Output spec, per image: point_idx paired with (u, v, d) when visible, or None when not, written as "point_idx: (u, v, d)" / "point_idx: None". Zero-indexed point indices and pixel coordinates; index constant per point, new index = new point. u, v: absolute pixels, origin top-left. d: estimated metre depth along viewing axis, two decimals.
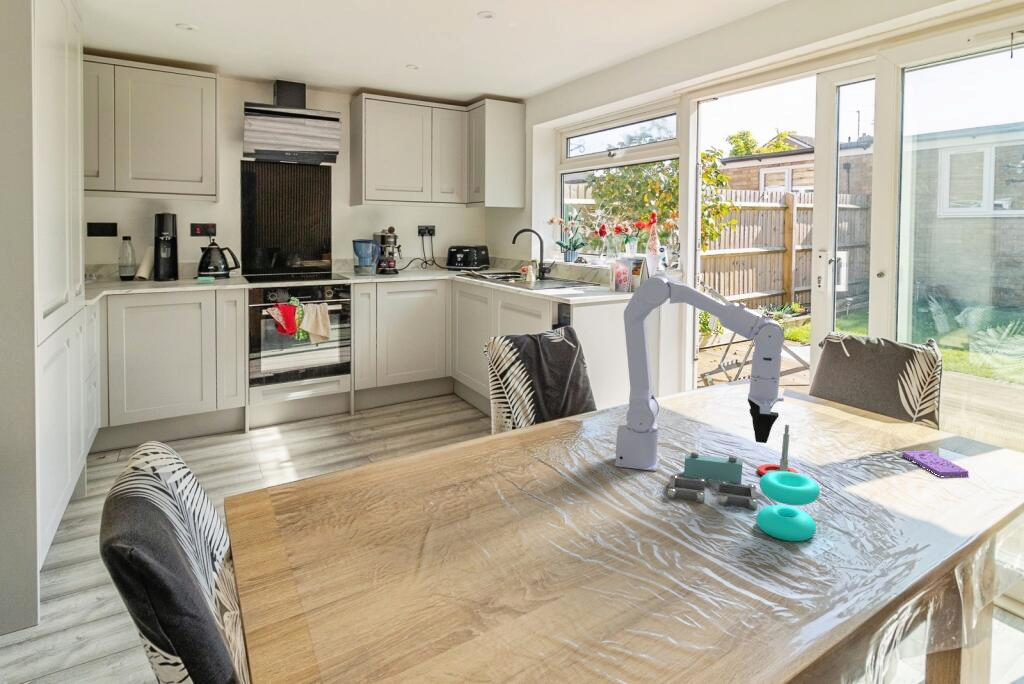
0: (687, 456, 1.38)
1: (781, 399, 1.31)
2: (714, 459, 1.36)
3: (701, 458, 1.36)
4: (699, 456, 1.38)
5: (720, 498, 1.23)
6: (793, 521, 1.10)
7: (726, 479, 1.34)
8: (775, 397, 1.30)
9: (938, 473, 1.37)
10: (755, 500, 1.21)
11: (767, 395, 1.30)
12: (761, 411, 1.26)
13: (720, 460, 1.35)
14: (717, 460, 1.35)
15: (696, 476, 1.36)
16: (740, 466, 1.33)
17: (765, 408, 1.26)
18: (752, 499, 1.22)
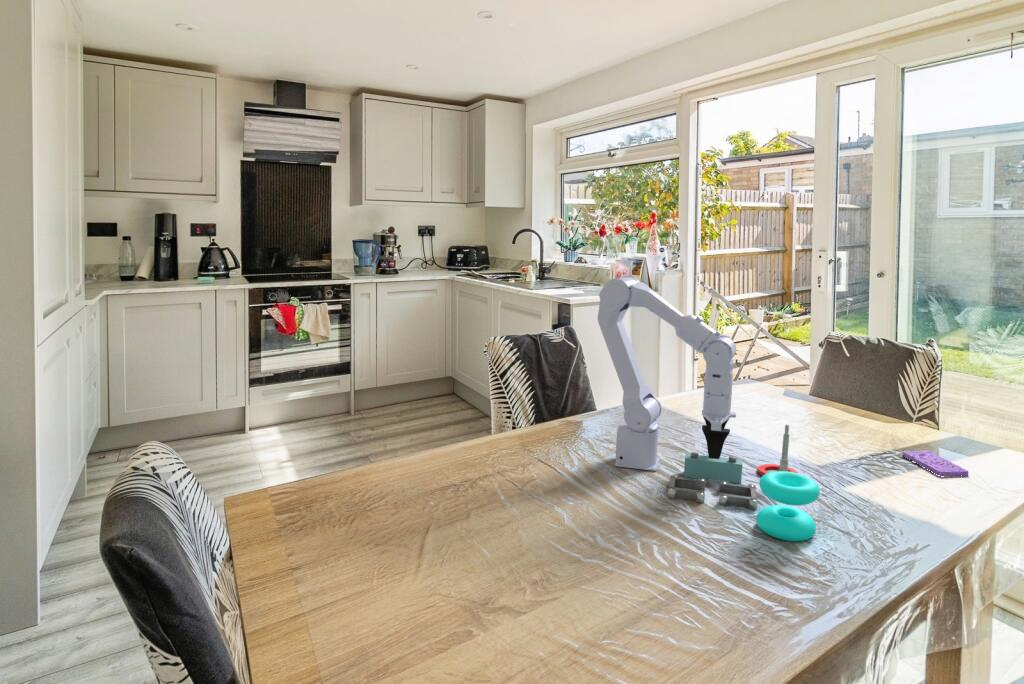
0: (687, 456, 1.38)
1: (733, 415, 1.32)
2: (714, 459, 1.36)
3: (700, 458, 1.36)
4: (699, 456, 1.38)
5: (720, 498, 1.23)
6: (793, 521, 1.10)
7: (726, 479, 1.34)
8: (727, 413, 1.32)
9: (938, 473, 1.37)
10: (755, 500, 1.21)
11: (719, 411, 1.31)
12: (712, 428, 1.28)
13: (720, 460, 1.35)
14: (717, 460, 1.35)
15: (696, 476, 1.36)
16: (740, 466, 1.33)
17: (716, 425, 1.27)
18: (752, 499, 1.22)
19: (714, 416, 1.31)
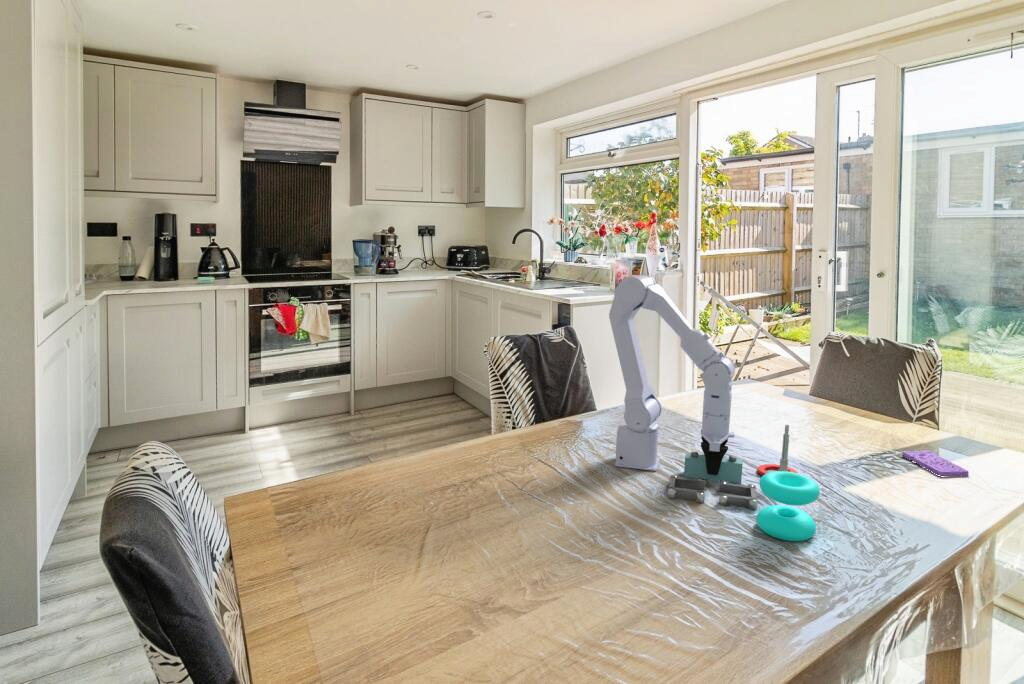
0: (687, 455, 1.38)
1: (732, 435, 1.33)
2: None
3: (701, 458, 1.36)
4: (699, 455, 1.37)
5: (720, 498, 1.23)
6: (793, 521, 1.10)
7: (726, 478, 1.34)
8: (726, 433, 1.32)
9: (938, 473, 1.37)
10: (755, 500, 1.21)
11: (717, 431, 1.32)
12: (710, 448, 1.29)
13: None
14: None
15: (696, 475, 1.36)
16: (740, 465, 1.33)
17: (714, 446, 1.28)
18: (752, 499, 1.22)
19: (713, 436, 1.32)
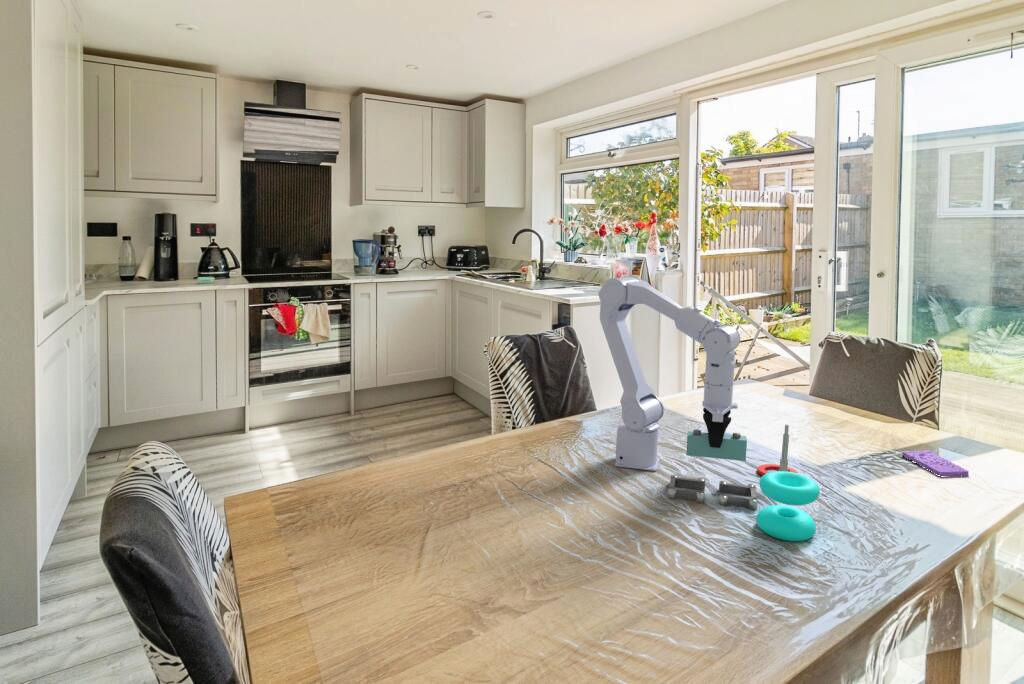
0: (690, 433, 1.33)
1: (735, 406, 1.28)
2: None
3: (703, 435, 1.32)
4: (702, 433, 1.33)
5: (720, 498, 1.23)
6: (793, 521, 1.10)
7: (730, 456, 1.30)
8: (729, 404, 1.28)
9: (938, 473, 1.37)
10: (755, 500, 1.21)
11: (720, 402, 1.27)
12: (713, 419, 1.24)
13: (724, 436, 1.31)
14: None
15: (699, 454, 1.32)
16: (744, 442, 1.29)
17: (717, 416, 1.24)
18: (752, 499, 1.22)
19: (715, 407, 1.28)
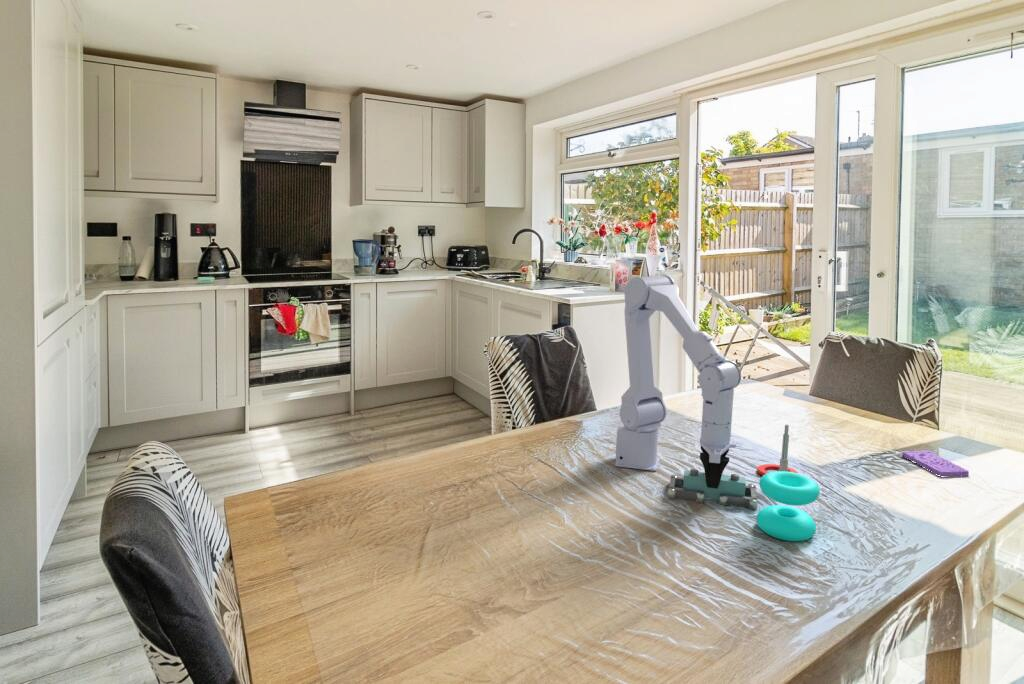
0: (686, 473, 1.28)
1: (733, 445, 1.23)
2: None
3: (701, 476, 1.27)
4: (699, 473, 1.28)
5: (720, 498, 1.23)
6: (793, 521, 1.10)
7: None
8: (727, 443, 1.23)
9: (939, 473, 1.37)
10: (755, 500, 1.21)
11: (718, 441, 1.22)
12: (710, 460, 1.19)
13: (722, 478, 1.26)
14: None
15: None
16: (743, 485, 1.24)
17: (714, 457, 1.19)
18: (752, 499, 1.22)
19: (713, 446, 1.23)
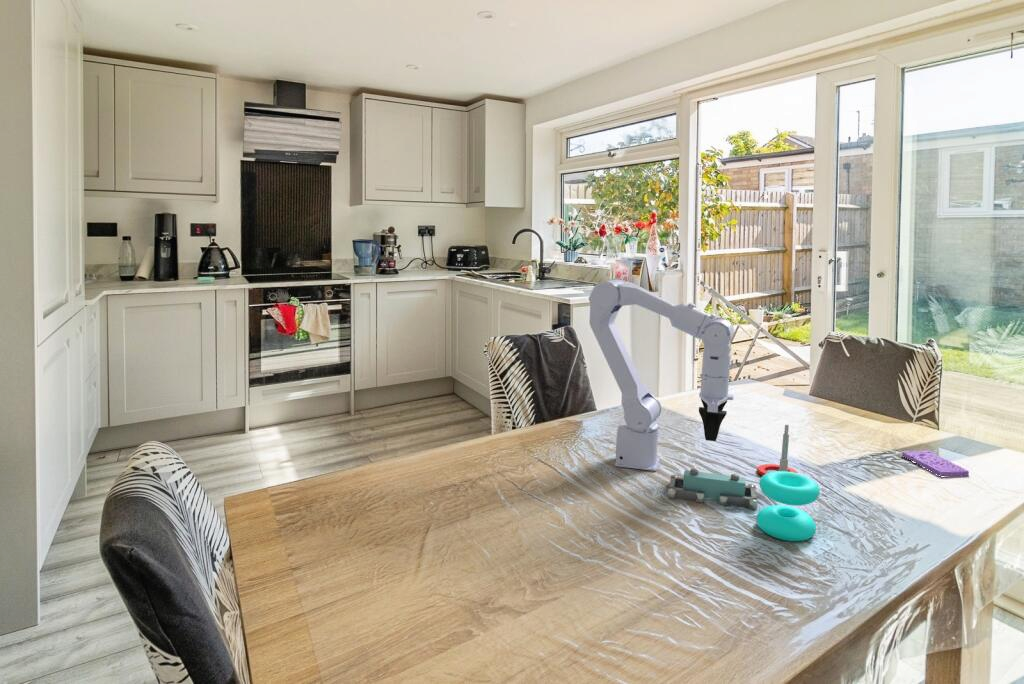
0: (686, 473, 1.28)
1: (731, 398, 1.32)
2: (715, 477, 1.26)
3: (700, 476, 1.27)
4: (699, 473, 1.28)
5: (720, 498, 1.23)
6: (793, 521, 1.10)
7: None
8: (724, 396, 1.31)
9: (939, 473, 1.37)
10: (755, 500, 1.21)
11: (716, 393, 1.31)
12: (708, 409, 1.28)
13: (722, 478, 1.26)
14: (718, 478, 1.26)
15: None
16: (743, 485, 1.24)
17: (712, 406, 1.27)
18: (752, 499, 1.22)
19: (711, 398, 1.31)
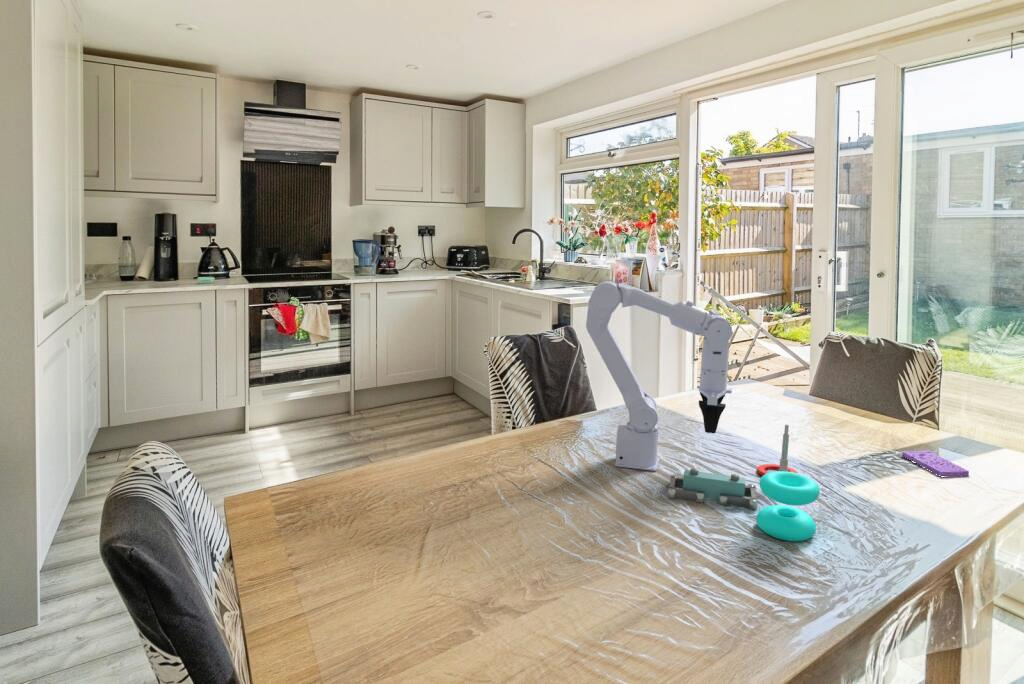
0: (687, 472, 1.29)
1: (729, 391, 1.36)
2: (715, 477, 1.26)
3: (700, 475, 1.27)
4: (699, 473, 1.28)
5: (720, 498, 1.23)
6: (793, 521, 1.10)
7: None
8: (723, 389, 1.36)
9: (939, 473, 1.37)
10: (755, 500, 1.21)
11: (715, 387, 1.35)
12: (708, 402, 1.32)
13: (722, 478, 1.26)
14: (718, 478, 1.26)
15: None
16: (743, 485, 1.23)
17: (712, 399, 1.32)
18: (752, 499, 1.22)
19: (710, 392, 1.36)
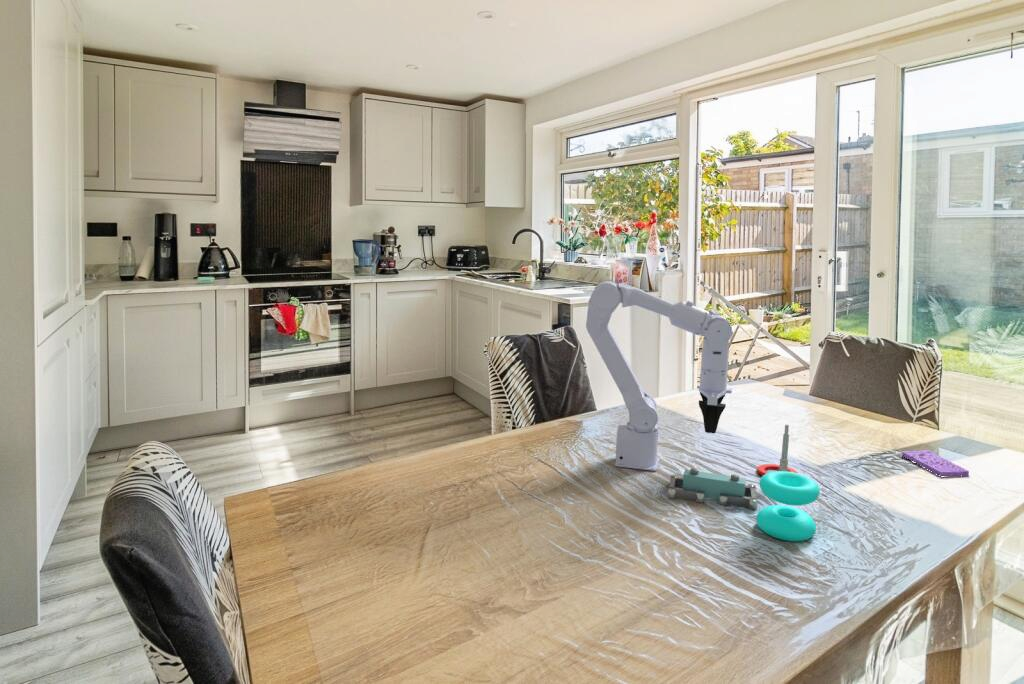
0: (687, 472, 1.29)
1: (729, 391, 1.36)
2: (715, 477, 1.26)
3: (700, 475, 1.27)
4: (699, 473, 1.28)
5: (720, 498, 1.23)
6: (793, 521, 1.10)
7: None
8: (723, 389, 1.36)
9: (939, 473, 1.37)
10: (755, 500, 1.21)
11: (715, 387, 1.35)
12: (708, 402, 1.32)
13: (722, 478, 1.26)
14: (718, 478, 1.26)
15: None
16: (742, 485, 1.23)
17: (712, 399, 1.32)
18: (752, 499, 1.22)
19: (710, 392, 1.36)
